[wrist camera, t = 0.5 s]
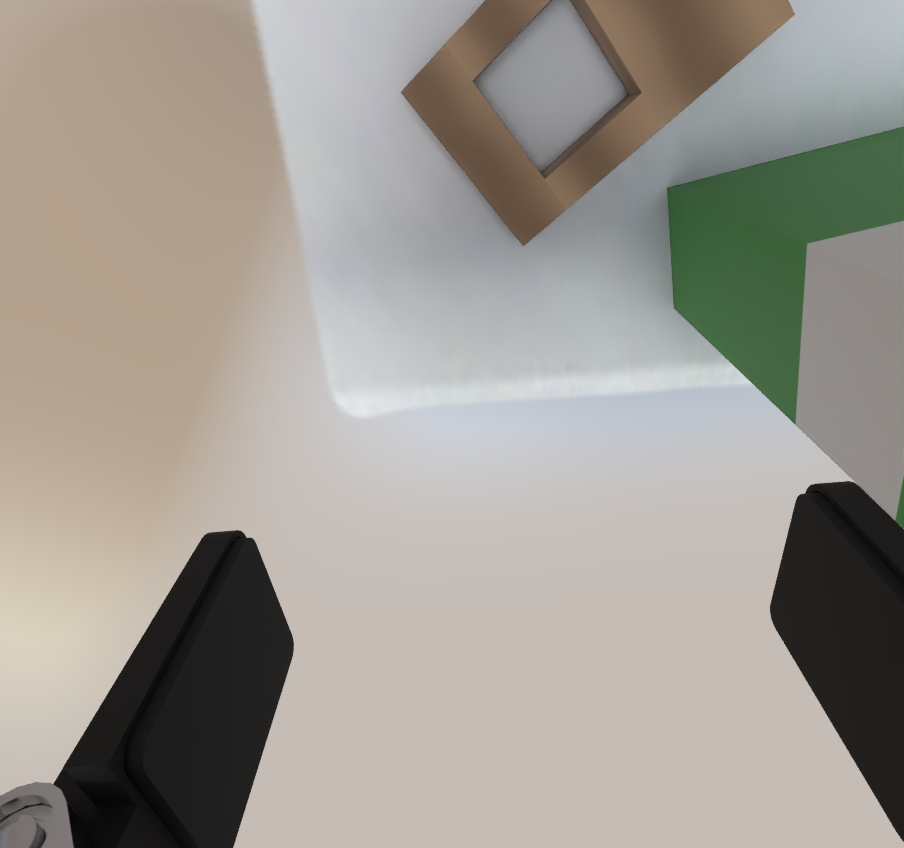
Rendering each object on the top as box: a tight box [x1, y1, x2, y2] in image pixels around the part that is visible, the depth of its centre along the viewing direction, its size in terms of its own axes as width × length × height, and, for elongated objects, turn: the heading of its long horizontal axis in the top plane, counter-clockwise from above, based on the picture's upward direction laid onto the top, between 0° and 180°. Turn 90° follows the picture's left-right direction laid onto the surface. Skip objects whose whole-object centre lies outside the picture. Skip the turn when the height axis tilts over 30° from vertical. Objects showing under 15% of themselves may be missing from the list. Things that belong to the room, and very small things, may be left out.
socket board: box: [401, 0, 795, 246], centre depth 28 cm, size 16×10×2 cm, turn 131°
